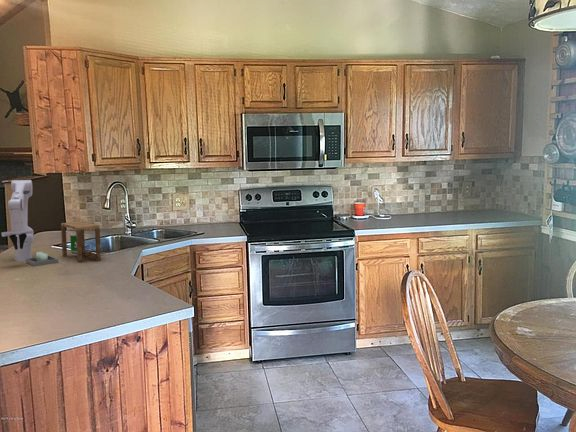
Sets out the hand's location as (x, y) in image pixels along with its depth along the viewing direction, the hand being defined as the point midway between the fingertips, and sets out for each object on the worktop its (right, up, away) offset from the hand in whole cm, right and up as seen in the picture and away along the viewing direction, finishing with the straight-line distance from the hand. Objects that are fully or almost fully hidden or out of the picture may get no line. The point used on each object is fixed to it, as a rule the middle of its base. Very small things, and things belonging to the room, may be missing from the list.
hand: (18, 248), depth 260 cm
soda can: (+14, -5, +39) cm, 42 cm away
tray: (+8, -8, +9) cm, 14 cm away
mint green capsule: (+10, -8, +7) cm, 14 cm away
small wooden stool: (+23, -7, +22) cm, 32 cm away
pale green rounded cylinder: (+6, -8, +11) cm, 14 cm away
